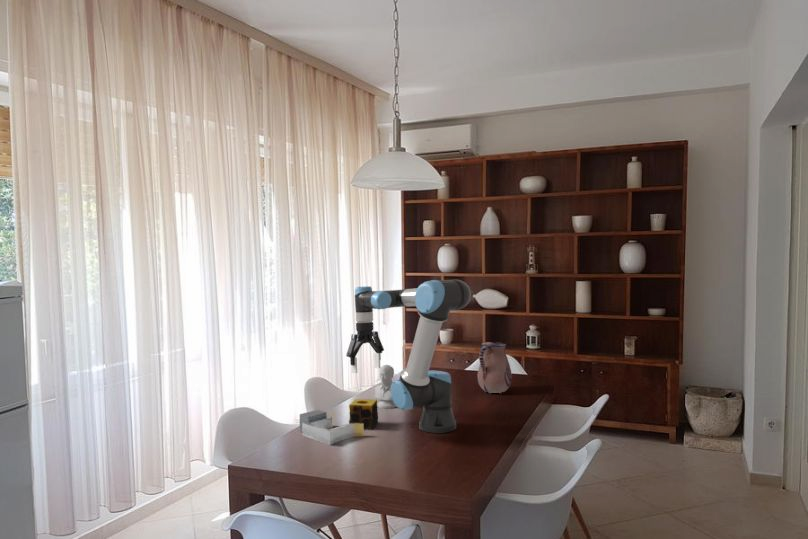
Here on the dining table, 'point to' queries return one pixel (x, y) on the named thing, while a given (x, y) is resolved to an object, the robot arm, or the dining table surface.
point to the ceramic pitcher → (494, 368)
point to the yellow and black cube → (364, 412)
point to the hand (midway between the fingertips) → (366, 370)
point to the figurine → (385, 388)
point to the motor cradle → (327, 428)
